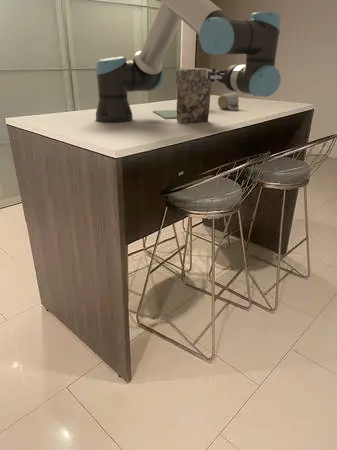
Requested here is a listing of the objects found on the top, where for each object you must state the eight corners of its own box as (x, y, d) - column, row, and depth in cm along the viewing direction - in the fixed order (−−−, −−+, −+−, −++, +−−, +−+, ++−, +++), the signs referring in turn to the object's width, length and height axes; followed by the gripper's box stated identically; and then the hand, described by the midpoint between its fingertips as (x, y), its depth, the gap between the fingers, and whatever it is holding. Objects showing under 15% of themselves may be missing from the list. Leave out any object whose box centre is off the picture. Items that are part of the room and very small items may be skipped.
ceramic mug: (216, 108, 174) (217, 92, 171) (227, 107, 178) (229, 91, 175) (230, 111, 166) (232, 95, 163) (242, 110, 171) (244, 94, 167)
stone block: (183, 124, 134) (185, 68, 125) (174, 121, 139) (175, 67, 130) (210, 121, 140) (214, 68, 131) (200, 119, 145) (203, 67, 136)
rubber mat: (165, 118, 145) (165, 117, 144) (152, 111, 162) (152, 110, 161) (204, 117, 150) (204, 116, 149) (188, 110, 167) (188, 109, 166)
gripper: (219, 92, 100) (190, 85, 120) (258, 91, 103) (224, 85, 123) (221, 64, 96) (191, 62, 116) (261, 64, 100) (226, 62, 120)
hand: (208, 74), depth 120 cm, fingers closed
